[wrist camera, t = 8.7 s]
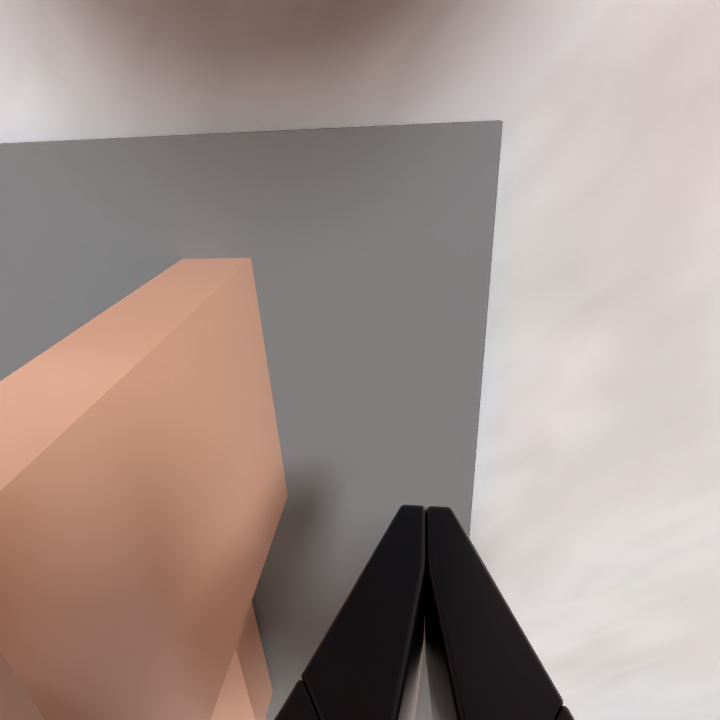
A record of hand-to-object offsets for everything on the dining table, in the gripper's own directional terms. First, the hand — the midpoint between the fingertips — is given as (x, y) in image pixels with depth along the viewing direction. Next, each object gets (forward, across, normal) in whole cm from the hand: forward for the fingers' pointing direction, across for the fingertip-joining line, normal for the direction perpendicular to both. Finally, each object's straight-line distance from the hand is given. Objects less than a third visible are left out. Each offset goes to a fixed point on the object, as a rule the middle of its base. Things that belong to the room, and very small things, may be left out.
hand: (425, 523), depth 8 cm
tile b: (+4, +5, 0) cm, 6 cm away
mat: (+5, +8, +5) cm, 10 cm away
